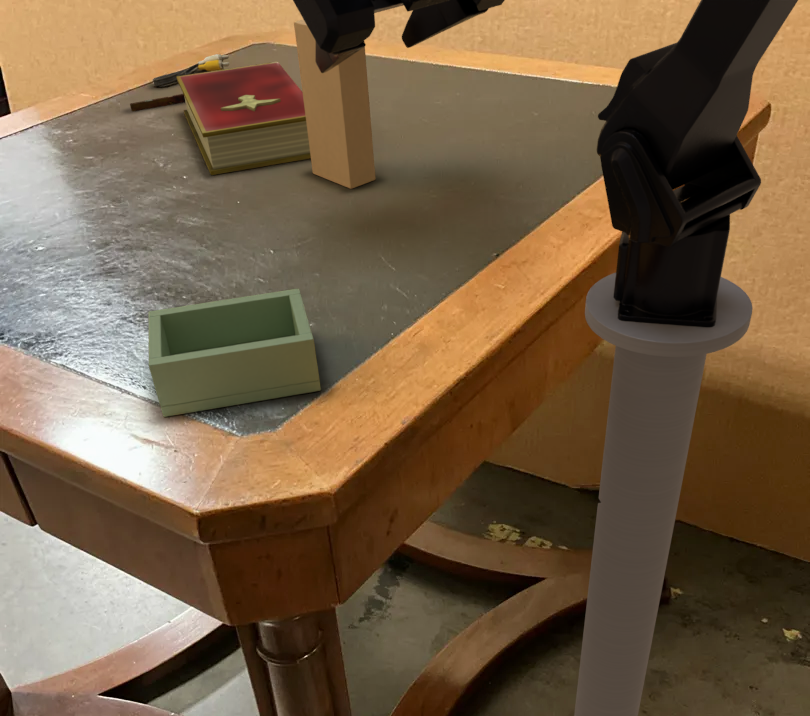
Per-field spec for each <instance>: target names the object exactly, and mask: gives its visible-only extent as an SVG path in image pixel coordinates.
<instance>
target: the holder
mask: <svg viewBox="0 0 810 716" xmlns="http://www.w3.org/2000/svg"><path fill="white" fill-rule="evenodd" d="M147 313H148V315H147V317H148V326H147V327H148V328H147V329H148V368H149V372H150V376H151V379H152V383H153V386H154V389H155V393H156V397H157V400H158V403H159V406H160V410H161V413H162V416H163V417H164V418H166V417H173V416H178V415H184V414H190V413H196V412H202V411H208V410H213V409H219V408H224V407H231V406H237V405H243V404H248V403H249V404H250V403H255V402H261V401H267V400H274V399H279V398H285V397H290V396H298V395H302V394H303V395H304V394H308V393H309V394H310V393H314V392H320V391H321V390H322V388H321V381H320V375H319V367H318V366H319V365H318V361H317V353H316V346H315V345H316V344H315V339H314V336H313V332H312V328H311V325H310V322H309V321H310V320H309V318H308V315H307V311H306V307H305V305H304V300H303V296H302V294H301V290H300V288H299V287H298V288H292V289H285V290H279V291H272V292H266V293H259V294H253V295H246V296H240V297H239V296H238V297H234V298H226V299H219V300H214V301H207V302H203V303H202V302H201V303H193V304H188V305H181V306H175V307H169V308H162V309H156V310H150V311H148V312H147Z"/></svg>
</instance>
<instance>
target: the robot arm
mask: <svg viewBox="0 0 810 716" xmlns="http://www.w3.org/2000/svg"><path fill="white" fill-rule="evenodd" d="M292 1H293V3H294V5H295V7H296V9H297V10H298V12H299V14H300V16H301V17H302V20H303V19H304V21H305V23H306V25H307V26H308V28H309V30H310V32H311V33H312V35H313V37H314V39H315V40H316V47H315V61H316V64H317V66H318V68H319V70H320V71H321V73H325V72H327V71H329V70H331V69H332V68H334V67H335V66H337V65H338V64H340V63H341V62H343V61H344V60H346V59H347V58H349V57H350V56H352V55H353V54H355V53H356V52H358V51H359V50H361V49H362V48H364V47H365V48H366V45H367V44H366V42H365V41H366V40H367V39H369V38H370V36H371V35H372V33H373V31H374V29H375V28H376V16H375V14H376V13H380V12H384V11H388V10H391V9H395V8H399V7H403V6H404V8H405V10H406V12H407V13H408V12H411V13H410V15H409V17H408V19H407V21H406V24H405V26H404V29H403V31H402V34H401V40H402V42H403V44H404V46H405V47H406V49H409V48H413V47H415V46H417V45H418V44H421V43H422V42H424V41H427V40H429V39H431V38H433V37H436V36H437V35H439V34H441V33H443V32H445V31H447V30H450V29H452V28H453V27H456V26H458V25H460V24H462V23H464V22H466V21H469V20H470V19H473V18H475V17H477V16H479V15H482V14H483V15H484V14H485V13H486V12H488V11H489V9H492V8H495V7H499V6H502V5H503V4H504V2H505V1H506V0H292ZM798 2H799V0H700V2H698V5H697V7H696V8H695V11H694V12H693V14H692V16H691V18H690V20H689V21H688V23H687V25H686V26H685V29H684V31H683V32H682V34H681V36H680V37H679V39H678V41H677V42H674V43H671V44H669V45H665V46H663V47H659V48H657V49H655V50H652V51H648V52H645V53H643V54H640V55H638V56H635V57H632V58H630V59H629V60H628V61H627V63H626V65H625V67H624V68H623V69H622V72H621V74H620V76H619V80H618V82H617V86H616V88H615V91H614V93H613V96H612V98H611V99H610V101H609V103H608V104H607V106H606V107H605V108H603V110H602V111H599V113H598V114H597V118H598V120H599V121H605V122H604V123H603V126H602V127H601V129H600V131H599V135H598V138H597V141H596V142H597V143H596V154H597V156H598V157H599V159H600V165H601V172H602V178H603V182H604V188H605V194H606V200H607V204H608V205H607V206H608V210H609V215H610V223H611V227H612V228H613V229H614V230H617V231H620V232H621V234H620V238H619V244H618V251H617V260H616V269H615V270H616V271H615V273H616V278H615V288H614V297H613V298H614V299H615V300H616V301H620V304H619V309H618V315H617V318H618V319H619V320H621V321H628V322H641V323H655V324H668V325H681V326H695V327H713V326H715V323H716V312H717V294H718V289H719V284H720V278H721V277H722V272H723V267H724V263H725V257H726V251H727V246H728V241H729V236H730V231H731V215H732V214H734V213H736V212H737V211H739V210H744V209H746V208H748V207H749V205H750V204H751V202H752V200H754V199H753V198H754V197H755V195H756V194H757V191H758V190H759V188H760V187H761V184H762V179H761V176H760V175H759V172H758V171H757V170H756V168H755V166H754V164H753V161H751V159H750V156H749V155H748V153H747V151H746V150H745V147H744V146H743V144H742V142H741V140H740V139H739V137H738V133H739V132H740V129H741V127H742V125H743V122H744V121H745V119H746V116H747V114H748V111H749V106H750V100H751V91H752V85H753V77H754V73H755V70H756V69H757V66H758V65H759V62H760V61H761V59H762V57H763V56H764V55H765V53H766V51H767V50H768V48H769V47H770V45H771V44H772V42H773V41H774V39H775V37H776V36H777V34H778V33H779V31H780V29H781V28H782V27H783V25H784V23H785V22H786V20H787V18H788V17H789V15H790V14H791V13H792V12H793V9H794V8H795V6H796V5H797V4H798Z"/></svg>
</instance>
